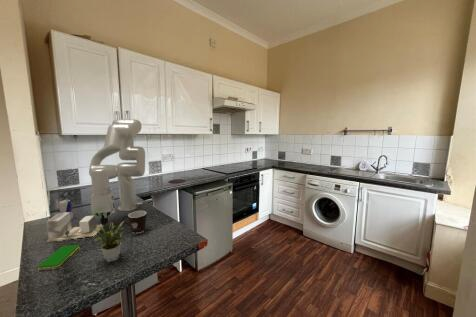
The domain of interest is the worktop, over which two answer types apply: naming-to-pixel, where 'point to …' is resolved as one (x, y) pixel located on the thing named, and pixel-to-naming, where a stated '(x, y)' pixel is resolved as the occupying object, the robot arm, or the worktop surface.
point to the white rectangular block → (87, 224)
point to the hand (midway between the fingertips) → (104, 223)
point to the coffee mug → (137, 221)
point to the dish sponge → (59, 256)
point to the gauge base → (75, 232)
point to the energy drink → (66, 207)
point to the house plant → (110, 241)
